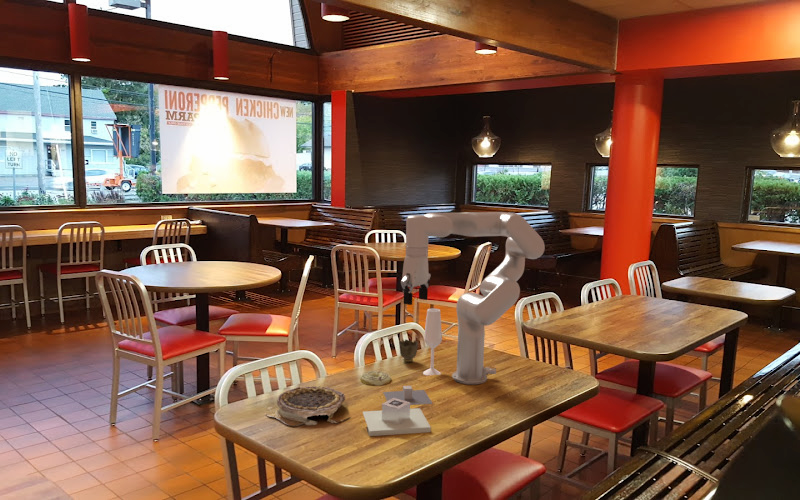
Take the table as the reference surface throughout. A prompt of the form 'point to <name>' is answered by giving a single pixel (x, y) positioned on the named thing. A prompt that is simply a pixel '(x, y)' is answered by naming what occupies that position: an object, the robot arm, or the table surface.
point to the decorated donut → (375, 378)
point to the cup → (408, 350)
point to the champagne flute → (433, 336)
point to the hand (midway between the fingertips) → (415, 301)
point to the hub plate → (381, 427)
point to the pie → (308, 404)
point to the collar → (396, 411)
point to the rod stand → (409, 396)
